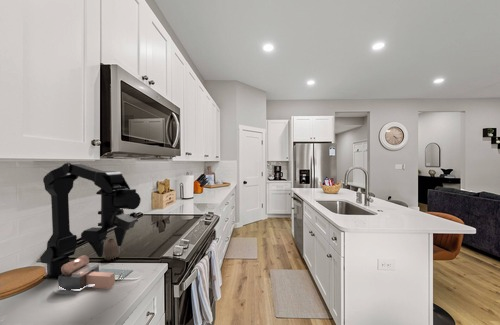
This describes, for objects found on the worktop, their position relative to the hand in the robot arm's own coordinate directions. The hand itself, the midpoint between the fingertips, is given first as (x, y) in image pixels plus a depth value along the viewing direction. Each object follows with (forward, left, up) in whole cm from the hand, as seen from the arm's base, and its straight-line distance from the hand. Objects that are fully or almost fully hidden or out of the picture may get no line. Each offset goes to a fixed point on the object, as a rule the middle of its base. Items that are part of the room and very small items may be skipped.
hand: (110, 251), depth 76 cm
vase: (-15, +19, -12) cm, 27 cm away
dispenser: (-11, -1, -12) cm, 17 cm away
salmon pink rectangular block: (-4, -1, -12) cm, 13 cm away
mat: (-5, +6, -12) cm, 14 cm away
